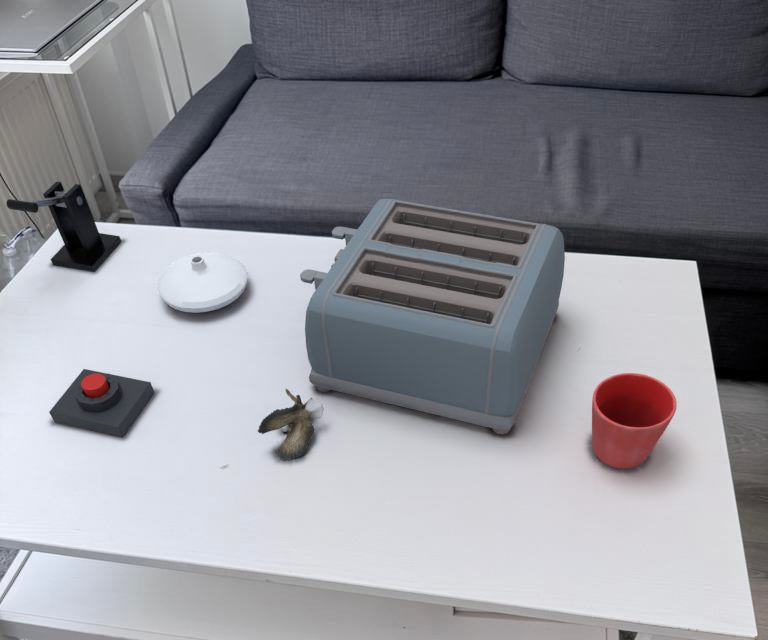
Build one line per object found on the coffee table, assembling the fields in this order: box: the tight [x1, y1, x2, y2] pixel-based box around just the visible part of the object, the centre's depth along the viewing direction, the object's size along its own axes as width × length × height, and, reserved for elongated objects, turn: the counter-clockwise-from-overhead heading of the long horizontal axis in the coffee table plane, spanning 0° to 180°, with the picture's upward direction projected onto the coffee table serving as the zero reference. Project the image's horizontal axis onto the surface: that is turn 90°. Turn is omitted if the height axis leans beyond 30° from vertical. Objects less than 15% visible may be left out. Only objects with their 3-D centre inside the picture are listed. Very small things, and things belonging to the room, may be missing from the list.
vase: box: [156, 251, 248, 314], centre depth 130 cm, size 16×16×7 cm
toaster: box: [299, 198, 566, 435], centre depth 114 cm, size 31×36×17 cm
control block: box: [48, 368, 155, 438], centre depth 114 cm, size 12×10×4 cm
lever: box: [6, 189, 69, 214], centre depth 129 cm, size 13×5×2 cm, turn 163°
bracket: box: [42, 181, 122, 273], centre depth 137 cm, size 10×9×13 cm
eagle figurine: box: [257, 388, 324, 461], centre depth 108 cm, size 8×7×9 cm
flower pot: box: [591, 372, 677, 469], centre depth 102 cm, size 11×11×10 cm
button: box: [81, 374, 109, 398], centre depth 112 cm, size 4×4×2 cm
